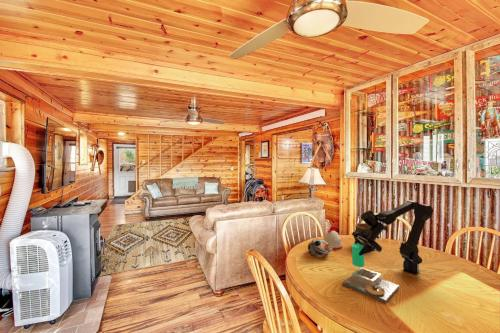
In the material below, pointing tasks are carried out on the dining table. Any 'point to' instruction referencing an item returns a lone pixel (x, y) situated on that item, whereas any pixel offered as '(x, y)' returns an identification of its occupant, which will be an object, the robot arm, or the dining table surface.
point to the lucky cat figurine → (319, 248)
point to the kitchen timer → (333, 238)
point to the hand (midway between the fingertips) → (356, 252)
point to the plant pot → (363, 226)
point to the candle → (357, 255)
